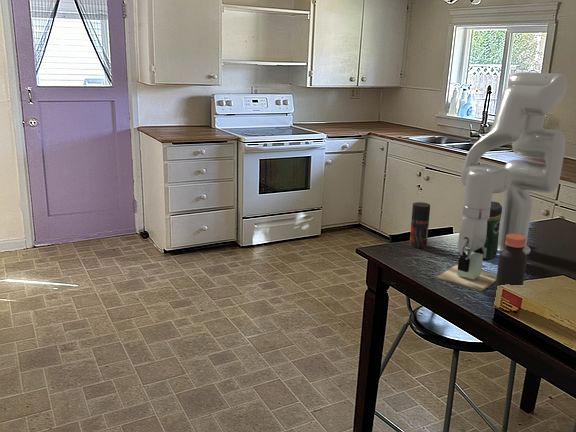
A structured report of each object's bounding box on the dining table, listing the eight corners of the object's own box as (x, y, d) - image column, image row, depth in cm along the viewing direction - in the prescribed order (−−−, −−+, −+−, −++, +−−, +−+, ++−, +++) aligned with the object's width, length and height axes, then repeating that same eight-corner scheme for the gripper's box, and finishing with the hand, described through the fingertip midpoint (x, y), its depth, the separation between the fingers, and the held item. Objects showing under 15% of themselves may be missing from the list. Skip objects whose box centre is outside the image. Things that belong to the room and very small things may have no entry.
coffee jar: (477, 249, 194) (483, 197, 189) (499, 254, 189) (506, 202, 184) (465, 256, 188) (470, 203, 182) (487, 262, 182) (494, 207, 177)
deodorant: (426, 248, 194) (430, 207, 190) (409, 247, 195) (412, 206, 191) (426, 243, 200) (430, 202, 195) (409, 241, 201) (412, 201, 196)
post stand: (457, 265, 179) (459, 245, 177) (500, 277, 170) (503, 256, 168) (436, 278, 169) (438, 256, 167) (481, 291, 160) (484, 268, 158)
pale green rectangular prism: (464, 270, 173) (466, 250, 171) (480, 274, 169) (483, 254, 168) (457, 275, 169) (459, 254, 167) (473, 279, 166) (476, 258, 164)
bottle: (490, 308, 150) (499, 237, 144) (495, 299, 155) (504, 231, 149) (517, 314, 146) (527, 242, 140) (521, 305, 152) (532, 235, 146)
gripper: (476, 204, 172) (470, 256, 177) (451, 215, 160) (445, 271, 164) (500, 208, 167) (493, 261, 172) (476, 220, 155) (469, 277, 160)
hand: (470, 266), depth 168 cm, fingers open, 9 cm apart
